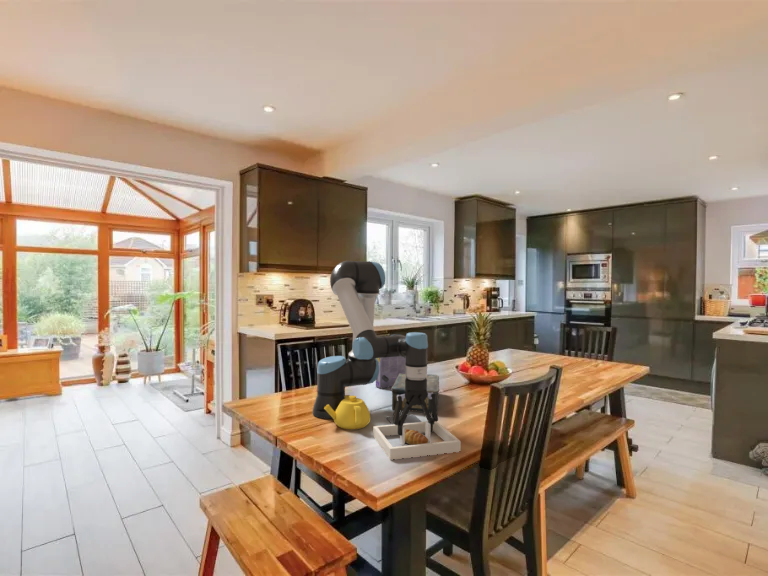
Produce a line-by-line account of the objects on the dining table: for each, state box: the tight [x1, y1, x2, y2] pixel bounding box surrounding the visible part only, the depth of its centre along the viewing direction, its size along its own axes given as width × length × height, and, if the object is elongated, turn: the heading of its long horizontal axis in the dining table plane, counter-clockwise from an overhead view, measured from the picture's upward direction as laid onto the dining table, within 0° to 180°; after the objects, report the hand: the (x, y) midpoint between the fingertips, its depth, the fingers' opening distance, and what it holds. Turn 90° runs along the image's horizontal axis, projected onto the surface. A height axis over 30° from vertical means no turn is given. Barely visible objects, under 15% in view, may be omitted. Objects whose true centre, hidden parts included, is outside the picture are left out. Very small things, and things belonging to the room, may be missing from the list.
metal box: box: [390, 373, 440, 413], centre depth 188 cm, size 21×32×10 cm, turn 172°
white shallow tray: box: [372, 420, 462, 461], centre depth 138 cm, size 24×20×4 cm
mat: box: [386, 414, 423, 425], centre depth 159 cm, size 12×12×1 cm
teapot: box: [324, 394, 371, 430], centre depth 155 cm, size 20×18×11 cm
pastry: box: [405, 429, 428, 445], centre depth 139 cm, size 9×7×4 cm
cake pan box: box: [375, 356, 406, 389], centre depth 216 cm, size 19×5×18 cm, turn 130°
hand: (415, 443), depth 138 cm, fingers open, 9 cm apart
